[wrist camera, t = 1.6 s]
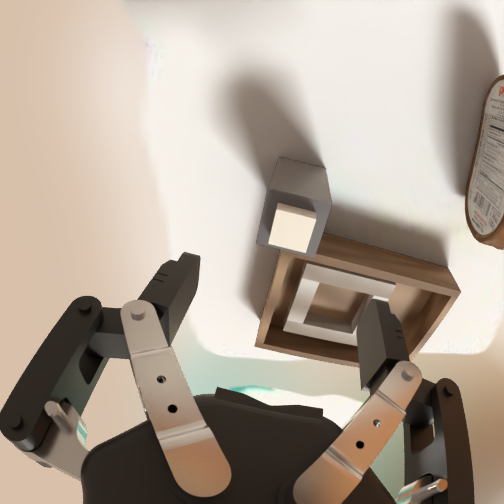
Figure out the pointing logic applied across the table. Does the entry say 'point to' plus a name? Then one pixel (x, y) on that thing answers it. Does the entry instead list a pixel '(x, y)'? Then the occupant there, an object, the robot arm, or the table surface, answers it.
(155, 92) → the table surface
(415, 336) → the box
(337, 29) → the table surface
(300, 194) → the connector
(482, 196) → the tin
